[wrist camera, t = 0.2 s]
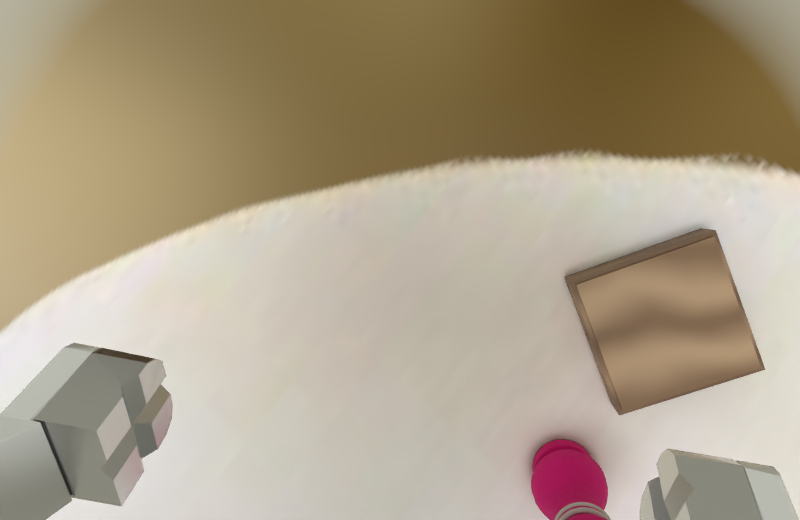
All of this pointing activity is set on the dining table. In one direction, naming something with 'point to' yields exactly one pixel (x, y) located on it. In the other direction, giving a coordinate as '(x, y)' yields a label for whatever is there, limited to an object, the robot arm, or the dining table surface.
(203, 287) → the dining table surface
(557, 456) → the pepper mill
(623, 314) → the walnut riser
